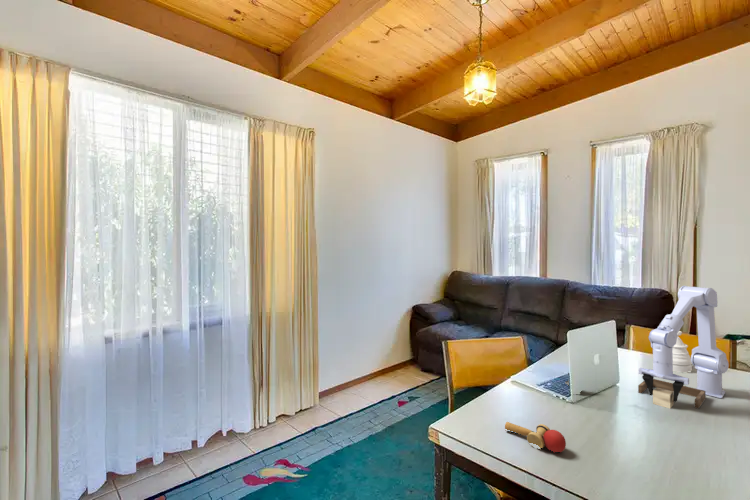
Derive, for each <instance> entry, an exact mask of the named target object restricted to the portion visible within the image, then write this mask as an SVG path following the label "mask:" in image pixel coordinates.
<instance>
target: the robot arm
mask: <svg viewBox="0 0 750 500" xmlns="http://www.w3.org/2000/svg"><path fill="white" fill-rule="evenodd" d="M677 298H678V301H677V302H676V303H675V306H674V308H673V310H672V312H671V313H670V314H668V313H667V314H666V315H665V316H664V318H663V319H662V320H661V322H660V323H659V325H658V326H657V328H655V329H652V330H651V331H650V332H649V335H648V340H649V342H650V347H651V348H652V369H651V368H644V367H639V368H638V375H642V377H641V378H642V379H643V381H645V383H646V385H647V387H648V388H647V390H648V393H649V396H652V397H653V390H654V387H653V379H655V378H659V379H663V380H668V381H671V382H672V383H673V391H674V392H673V393H674V395H673V401H674V403H676V402H678V398H679V394H680V393H679V392H680V390H681V388H682V387H683V386H688V385H689V384H690V378H688V377H685V376H682V375H678V374H675V373H674V372H673V346H674V345H675V344H676V342H677V337H679V336H678V335H677V333H678V332H679V331H680V330H681V328H682V327H683V326H684V324H685V322H684V320H683V319H684V318H685V317H686V315H688V313H689V312H690V310H691V309H693V307H694V308H696V319H697V321H696V322H697V336H698V339H697V340H698V346H695V347H693V348H692V349H691V355H690V359H691V363H692V365H693V366H694V369H696V377H697V378H696V381H697V382H696V385H697V386H696V388H695V389H700V390H704V391H705V396H710V397H712V398H713V397H715V398H718V399H723V397H724V396H725V394H726V390H723V374H725V373H726V372H727V371H728V370H729V365H730V364H729V360H728V359H727V354H726V353H725V352H724V351H723V350H722V349H719V348H718V347H717V337H716V317H715V308H718V292H717V291H716V290H715V289H714V288H712V287H699V286H688V285H682V286H681V287H679V289H678V292H677ZM693 366H692V367H693Z"/></svg>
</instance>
